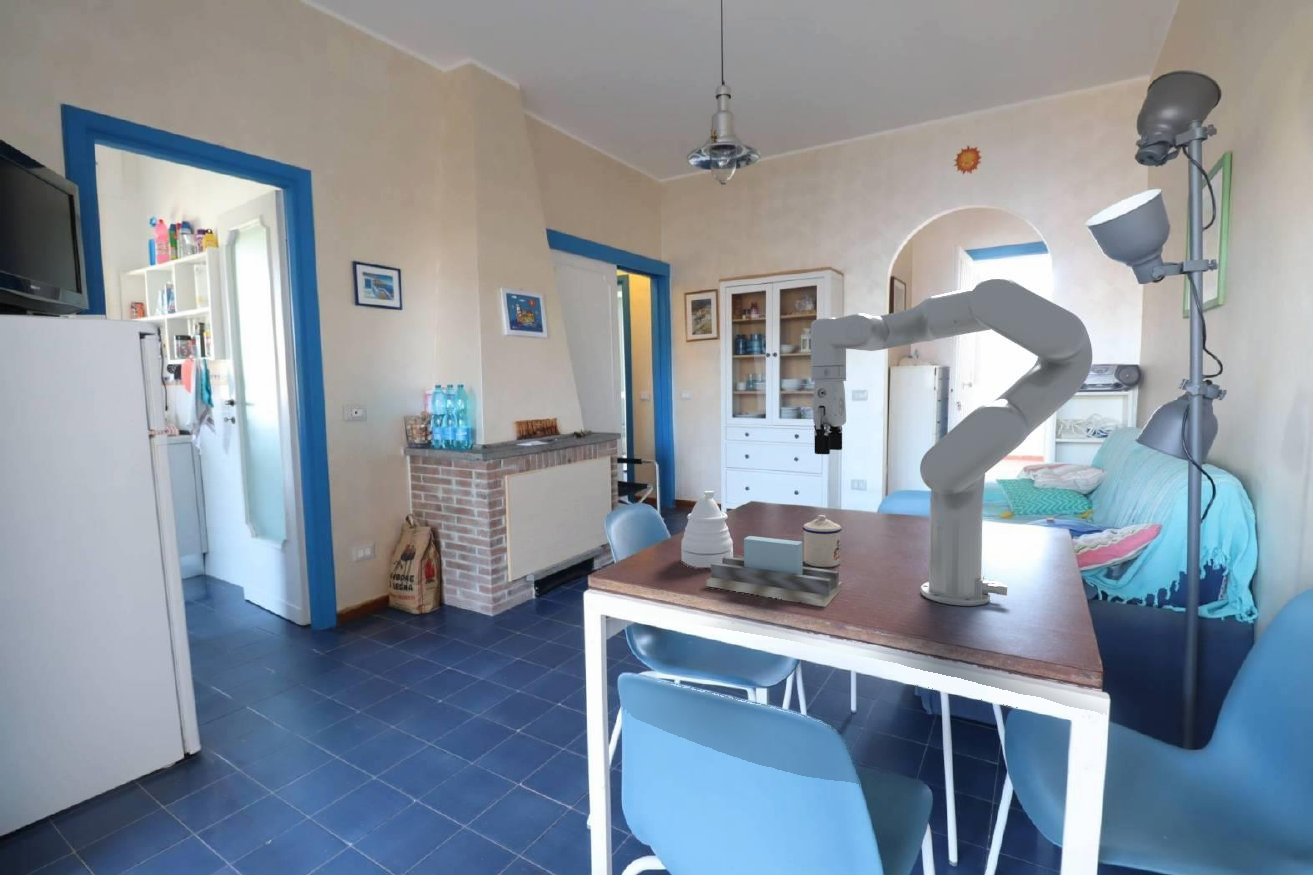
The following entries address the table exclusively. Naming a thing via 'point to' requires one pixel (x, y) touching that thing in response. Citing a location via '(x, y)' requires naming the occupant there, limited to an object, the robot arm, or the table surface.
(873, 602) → the table surface
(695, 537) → the honey pot
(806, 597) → the track board
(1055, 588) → the table surface
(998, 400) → the robot arm
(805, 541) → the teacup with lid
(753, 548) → the door panel
